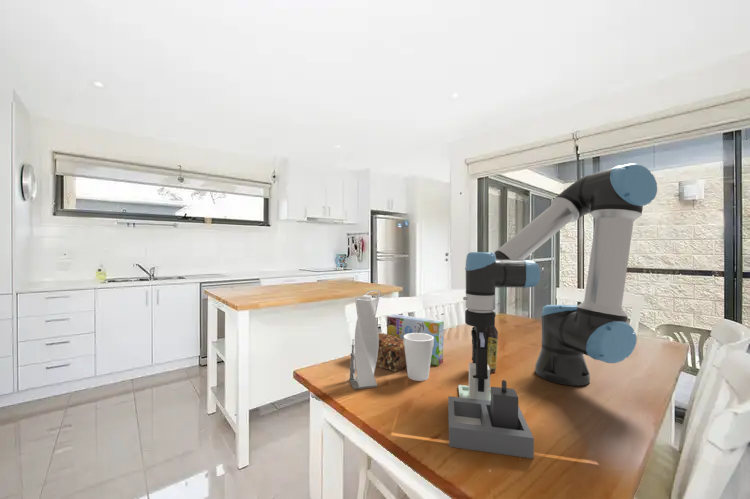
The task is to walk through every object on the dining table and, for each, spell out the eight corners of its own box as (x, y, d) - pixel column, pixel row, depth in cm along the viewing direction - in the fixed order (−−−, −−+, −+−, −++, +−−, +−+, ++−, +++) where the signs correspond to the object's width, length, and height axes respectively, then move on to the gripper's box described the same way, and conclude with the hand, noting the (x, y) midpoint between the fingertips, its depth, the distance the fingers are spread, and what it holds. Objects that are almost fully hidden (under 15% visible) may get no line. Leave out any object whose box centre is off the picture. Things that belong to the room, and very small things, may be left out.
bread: (355, 360, 114) (355, 332, 114) (374, 353, 122) (375, 327, 122) (395, 374, 102) (396, 343, 102) (414, 365, 110) (414, 337, 110)
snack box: (444, 361, 114) (444, 320, 114) (438, 366, 109) (438, 323, 109) (392, 351, 125) (393, 313, 125) (385, 355, 120) (386, 315, 120)
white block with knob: (487, 397, 85) (488, 354, 85) (489, 404, 81) (490, 359, 81) (468, 395, 86) (469, 352, 86) (469, 402, 82) (470, 357, 82)
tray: (494, 393, 89) (494, 388, 89) (503, 416, 76) (503, 411, 76) (458, 389, 91) (458, 384, 91) (460, 411, 79) (460, 406, 78)
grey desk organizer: (517, 420, 75) (518, 370, 75) (533, 458, 61) (534, 397, 61) (448, 412, 78) (448, 364, 78) (449, 446, 65) (449, 388, 64)
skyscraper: (375, 377, 99) (376, 288, 99) (383, 388, 91) (384, 291, 91) (349, 379, 97) (350, 289, 97) (354, 391, 89) (355, 292, 89)
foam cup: (432, 386, 93) (433, 342, 93) (401, 383, 95) (402, 340, 95) (433, 373, 102) (433, 333, 102) (405, 371, 104) (405, 332, 104)
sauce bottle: (477, 372, 103) (477, 312, 103) (476, 366, 110) (477, 309, 110) (498, 375, 102) (499, 313, 102) (496, 368, 108) (497, 310, 108)
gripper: (463, 303, 94) (462, 380, 94) (467, 316, 75) (466, 413, 75) (489, 304, 92) (488, 382, 92) (501, 318, 73) (500, 417, 73)
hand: (478, 396), depth 84 cm, fingers open, 6 cm apart
